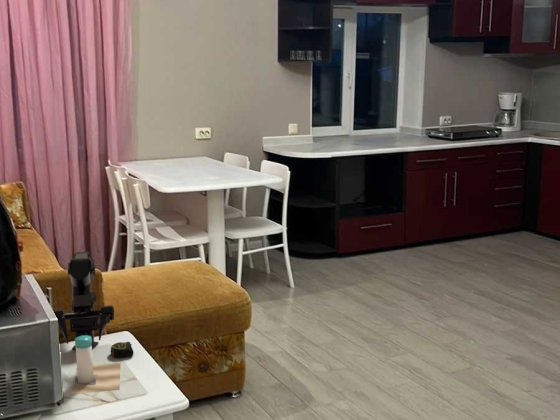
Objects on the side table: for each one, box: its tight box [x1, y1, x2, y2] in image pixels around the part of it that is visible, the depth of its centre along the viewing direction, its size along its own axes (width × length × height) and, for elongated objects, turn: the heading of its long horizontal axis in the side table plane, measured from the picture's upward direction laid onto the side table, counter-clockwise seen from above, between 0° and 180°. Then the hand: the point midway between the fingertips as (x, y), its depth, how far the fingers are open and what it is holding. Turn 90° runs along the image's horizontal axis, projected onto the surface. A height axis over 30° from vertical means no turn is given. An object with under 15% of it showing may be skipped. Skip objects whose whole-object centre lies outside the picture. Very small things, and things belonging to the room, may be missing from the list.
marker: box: [74, 335, 94, 384], centre depth 197 cm, size 5×5×13 cm
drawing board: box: [71, 362, 122, 395], centre depth 200 cm, size 18×13×1 cm
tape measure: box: [110, 341, 134, 359], centre depth 216 cm, size 7×7×4 cm
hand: (83, 341), depth 204 cm, fingers open, 9 cm apart
